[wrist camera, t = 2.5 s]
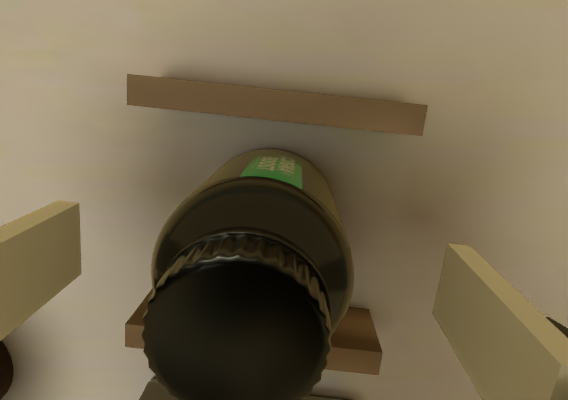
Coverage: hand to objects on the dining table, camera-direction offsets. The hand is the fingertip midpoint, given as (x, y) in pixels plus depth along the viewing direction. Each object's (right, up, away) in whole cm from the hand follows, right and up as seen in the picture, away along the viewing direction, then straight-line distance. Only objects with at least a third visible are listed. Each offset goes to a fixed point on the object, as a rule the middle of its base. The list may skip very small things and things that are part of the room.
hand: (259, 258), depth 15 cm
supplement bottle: (0, +2, +7) cm, 8 cm away
